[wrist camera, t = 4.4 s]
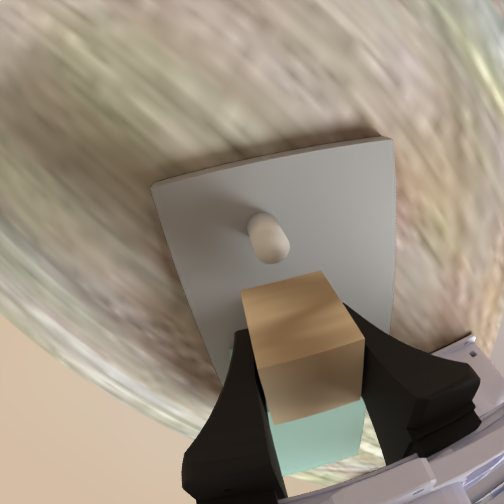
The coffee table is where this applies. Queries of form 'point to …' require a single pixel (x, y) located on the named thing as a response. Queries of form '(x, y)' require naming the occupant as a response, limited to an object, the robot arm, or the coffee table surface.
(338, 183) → the base
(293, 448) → the block
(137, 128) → the coffee table surface
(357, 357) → the brown block
